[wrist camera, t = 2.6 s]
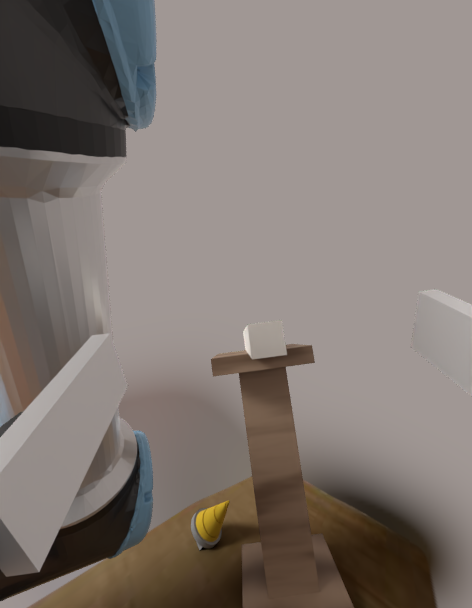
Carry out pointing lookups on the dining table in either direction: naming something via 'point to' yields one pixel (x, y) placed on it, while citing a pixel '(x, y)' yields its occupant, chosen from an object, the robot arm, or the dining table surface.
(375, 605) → the dining table surface
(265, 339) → the bar
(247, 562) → the pedestal
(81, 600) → the dining table surface
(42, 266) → the robot arm
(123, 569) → the dining table surface
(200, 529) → the drill bit
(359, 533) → the dining table surface
